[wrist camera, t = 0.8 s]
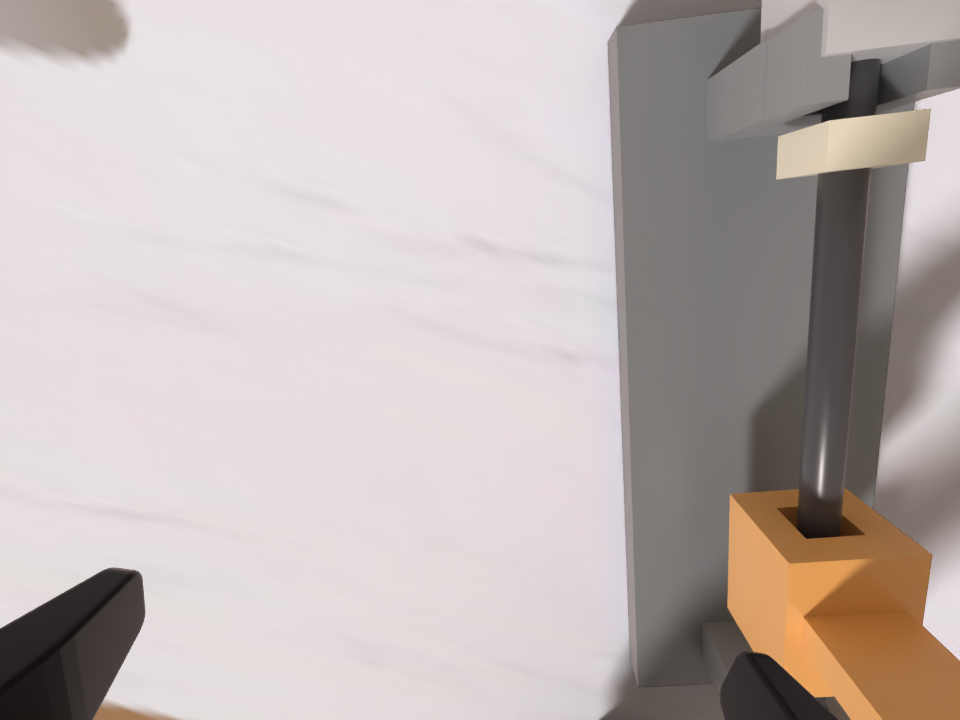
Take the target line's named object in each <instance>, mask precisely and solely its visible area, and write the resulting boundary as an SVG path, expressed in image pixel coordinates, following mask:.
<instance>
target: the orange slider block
mask: <svg viewBox="0 0 960 720" xmlns="http://www.w3.org/2000/svg"><path fill="white" fill-rule="evenodd" d="M798 496H799V489H793V490H779V491H765V492H751V493H738V494H730V513H729V557H728V602H727V608H728V609H729V611H730V613H731V615H732V616H733V618H734V620H735V621H736V623H737V625H738V626H739V628H740V630H741V631H742V633H743V635H744V636H745V638H746V640H747V642H748V643H749V645H750V647H751V648H752V650H753V652H758V653H764V654H767V655H769V656H770V657H771V658H773V659H774V660H775V661H776V662H777V663H778V664H779V665H780V666H781V667H783V668H784V669H785V670H786V671H787V672H788V673H789V674H790V675H791V676H792V677H793V678H794V679H796V680H797V681H798V682H799V683H800V684H801V685H802V686H803V687H804V688H805V689H806V690H807V691H808V692H810V693H811V694H812V695H813V696H814V697H833V696H834V697H835V698H836V699H837V701H838V702H839V704H840V705H841V707H842V708H843V709H844V711H845V712H846V714H847V715H848V716H849V718H850V719H851V720H960V661H959V660H958V659H957V658H956V657H955V656H954V655H953V654H952V653H951V652H950V651H949V650H948V649H947V648H946V647H944V646H943V645H942V644H941V643H940V642H939V641H938V640H937V639H936V638H935V637H934V636H933V635H932V634H931V633H930V632H929V631H928V630H927V629H926V628H925V627H923V626H922V625H923V618H924V611H925V604H926V596H927V589H928V582H929V575H930V568H931V560H932V554H931V553H929V552H928V551H927V550H925V549H924V548H923V547H922V546H920V545H919V544H918V543H916V542H915V541H914V540H912V539H911V538H910V537H908V536H907V535H906V534H905V533H903V532H902V531H901V530H899V529H898V528H897V527H895V526H894V525H893V524H891V523H890V522H889V521H888V520H886V519H885V518H884V517H882V516H881V515H880V514H878V513H877V512H876V511H875V510H873V509H872V508H871V507H869V506H868V505H867V504H865V503H864V502H863V501H861V500H860V499H859V498H858V497H856V496H855V495H854V494H852V493H851V492H850V491H848V490H847V489H846V488H844V495H843V507H842V519H841V530H840V537H827V538H812V539H806V538H805V537H804V536H803V535H802V534H801V533H800V532H799V531H798V530H797V512H798Z"/></svg>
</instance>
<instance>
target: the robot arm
mask: <svg viewBox="0 0 960 720" xmlns="http://www.w3.org/2000/svg"><path fill="white" fill-rule="evenodd" d="M144 618H145V601H144V590H143V579H142V575H141V574H140V573H139V571H136V570H130V569H122V568H108V569H105V570H103V571H101V572H99V573H97V574H96V575H94V576H92V577H90V578H89V579H87V580H85V581H83V582H82V583H80V584H78V585H76V586H74V587H73V588H71V589H69V590H67V591H66V592H64V593H62V594H60V595H59V596H57V597H55V598H53V599H51V600H50V601H48V602H46V603H44V604H43V605H41V606H39V607H37V608H36V609H34V610H32V611H30V612H28V613H27V614H25V615H23V616H21V617H20V618H18V619H16V620H14V621H13V622H11V623H9V624H7V625H5V626H4V627H2V628H0V720H93V719H94V717H95V715H96V713H97V711H98V709H99V707H100V705H101V704H102V702H103V700H104V698H105V696H106V694H107V692H108V690H109V688H110V687H111V685H112V683H113V681H114V679H115V677H116V675H117V673H118V671H119V670H120V668H121V666H122V664H123V662H124V660H125V658H126V656H127V654H128V653H129V651H130V649H131V647H132V645H133V643H134V641H135V639H136V637H137V636H138V634H139V632H140V630H141V627H142V625H143V622H144ZM720 702H721V707H722V711H723V715H724V719H725V720H839V719H838V718H836V717H835V716H834V715H833V714H832V713H831V712H830V711H829V710H828V709H827V708H826V707H825V706H824V705H822V704H821V703H820V702H819V701H818V700H817V699H816V698H815V697H814V696H813V695H812V694H811V693H810V692H808V691H807V690H806V689H805V688H804V687H803V686H802V685H801V684H800V683H799V682H798V681H797V680H796V679H794V678H793V677H792V676H791V675H790V674H789V673H788V672H787V671H786V670H785V669H784V668H783V667H781V666H780V665H779V664H778V663H777V662H776V661H775V660H774V659H773V658H771V657H770V656H769V655H767V654H764V653H758V652H751V651H741V652H739V653H737V655H736V656H735V658H734V660H733V662H732V664H731V666H730V668H729V670H728V672H727V674H726V676H725V678H724V680H723V682H722V684H721V687H720Z"/></svg>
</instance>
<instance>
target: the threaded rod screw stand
mask: <svg viewBox="0 0 960 720" xmlns="http://www.w3.org/2000/svg"><path fill="white" fill-rule="evenodd" d="M608 64H609V92H610V119H611V147H612V174H613V202H614V229H615V257H616V284H617V312H618V340H619V367H620V395H621V422H622V450H623V477H624V505H625V532H626V560H627V587H628V615H629V642H630V662H631V666H632V669H633V673H634V676H635V679H636V683H637V686H638V687H657V686H677V685H697V684H714V685H715V687H716V689H717V691H718V693H719V696H720V687H721V684H722V682H723V680H724V678H725V676H726V674H727V672H728V670H729V668H730V666H731V664H732V662H733V660H734V658H735V656H736V655H737V653H739V652H741V651H751V652H753V650H752V648H751V647H750V645H749V643H748V642H747V640H746V638H745V636H744V635H743V633H742V631H741V630H740V628H739V626H738V625H737V623H736V621H735V620H734V618H733V616H732V615H731V613H730V611H729V609H728V608H727V602H728V557H729V513H730V494H738V493H751V492H765V491H779V490H793V489H799V496H798V512H797V530H798V531H799V532H800V533H801V534H802V535H803V536H804V537H805V538H806V539H812V538H827V537H840V530H841V519H842V507H843V495H844V488H846V489H847V490H848V491H850V492H851V493H852V494H854V495H855V496H856V497H858V498H859V499H860V500H861V501H863V502H864V503H865V504H867V505H868V506H869V507H871V508H872V509H873V504H874V494H875V484H876V475H877V465H878V455H879V446H880V436H881V426H882V416H883V407H884V397H885V387H886V377H887V368H888V358H889V348H890V338H891V329H892V319H893V309H894V299H895V290H896V280H897V270H898V260H899V251H900V241H901V231H902V221H903V212H904V202H905V192H906V182H907V173H908V163H913V162H920V161H925V157H926V148H927V139H928V130H929V121H930V111H931V109H924V110H915V111H914V104H915V101H918V100H921V99H925V98H928V97H932V96H935V95H938V94H942V93H945V92H949V91H952V90H955V89H959V88H960V0H762V8H755V9H747V10H740V11H732V12H724V13H717V14H709V15H701V16H694V17H686V18H679V19H671V20H663V21H656V22H648V23H640V24H633V25H625V26H617V27H616V29H615V30H614V32H613V34H612V35H611V37H610V39H609V41H608ZM815 698H816V699H817V700H818V701H819V702H820V703H821V704H822V705H824V706H825V707H826V708H827V709H828V710H829V711H830V712H831V713H832V714H833V715H834V716H835V717H836V718H838V719H839V720H851V719H850V718H849V716H848V715H847V714H846V712H845V711H844V709H843V708H842V707H841V705H840V704H839V702H838V701H837V699H836V698H835V697H834V696H833V697H815Z"/></svg>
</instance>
